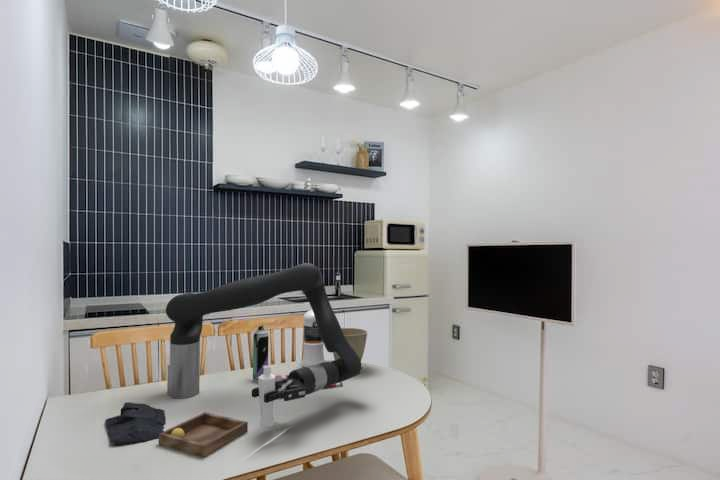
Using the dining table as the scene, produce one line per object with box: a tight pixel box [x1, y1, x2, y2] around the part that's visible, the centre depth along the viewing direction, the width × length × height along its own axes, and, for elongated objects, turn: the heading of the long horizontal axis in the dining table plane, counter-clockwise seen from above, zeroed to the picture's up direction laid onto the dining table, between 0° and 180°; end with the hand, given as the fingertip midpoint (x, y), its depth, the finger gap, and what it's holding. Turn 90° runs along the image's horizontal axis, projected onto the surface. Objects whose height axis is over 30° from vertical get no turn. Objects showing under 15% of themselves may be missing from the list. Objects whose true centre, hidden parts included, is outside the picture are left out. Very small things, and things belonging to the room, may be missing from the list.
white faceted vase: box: [257, 364, 276, 428], centre depth 110 cm, size 5×4×15 cm
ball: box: [171, 428, 184, 438], centre depth 105 cm, size 3×3×3 cm
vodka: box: [301, 306, 326, 368], centre depth 172 cm, size 9×9×30 cm
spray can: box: [252, 325, 269, 384], centre depth 154 cm, size 6×6×20 cm
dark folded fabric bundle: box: [104, 401, 167, 446], centre depth 113 cm, size 15×22×5 cm
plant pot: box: [332, 327, 368, 361], centre depth 166 cm, size 15×15×16 cm
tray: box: [158, 411, 249, 459], centre depth 107 cm, size 15×15×3 cm
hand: (258, 395), depth 108 cm, fingers closed on white faceted vase, 4 cm apart
